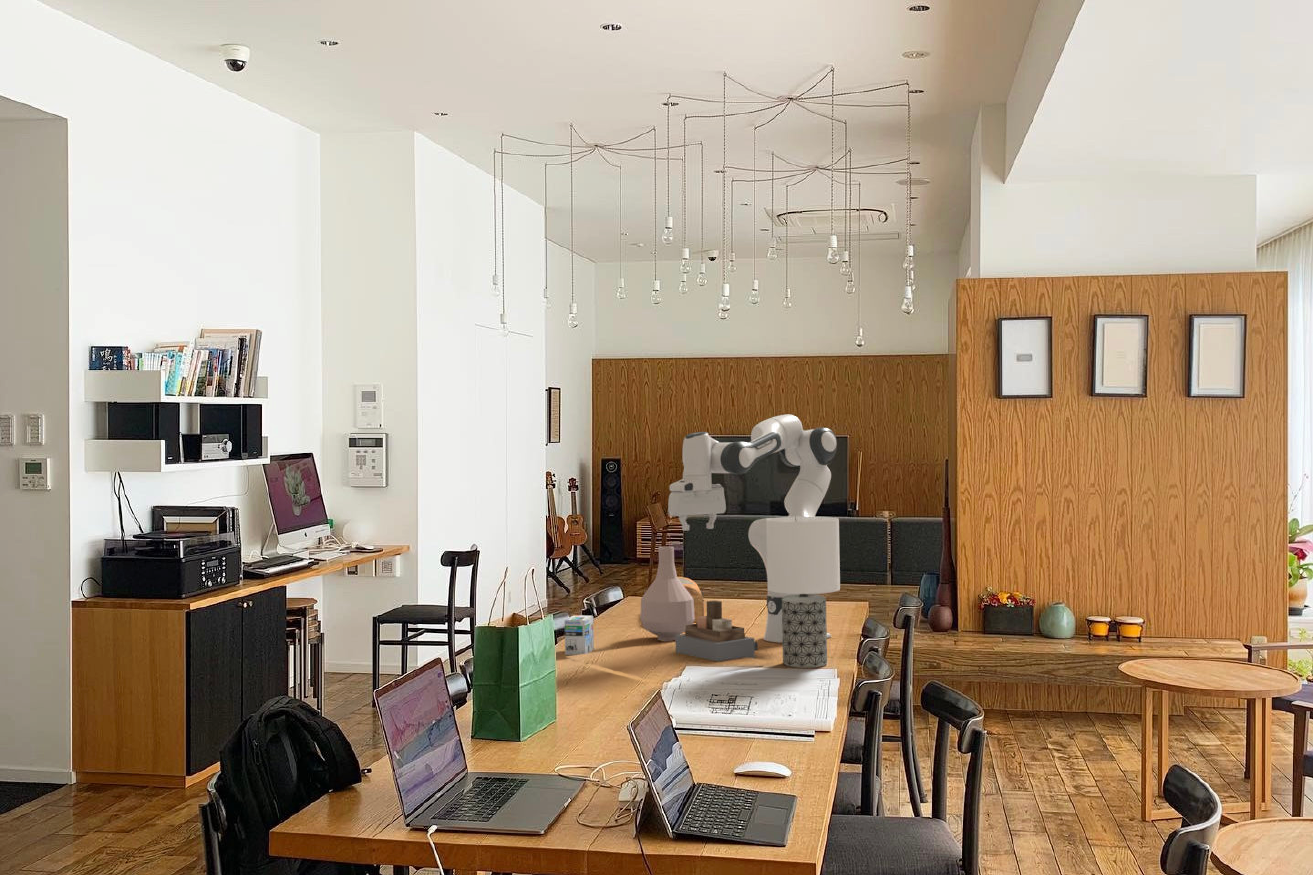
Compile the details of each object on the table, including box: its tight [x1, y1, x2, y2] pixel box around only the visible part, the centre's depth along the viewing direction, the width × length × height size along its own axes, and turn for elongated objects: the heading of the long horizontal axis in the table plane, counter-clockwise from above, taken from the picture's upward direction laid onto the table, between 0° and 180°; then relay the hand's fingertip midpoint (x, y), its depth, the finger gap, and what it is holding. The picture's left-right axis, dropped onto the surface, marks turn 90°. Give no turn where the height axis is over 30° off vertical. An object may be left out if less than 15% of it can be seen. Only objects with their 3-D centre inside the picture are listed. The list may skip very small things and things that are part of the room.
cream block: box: [712, 617, 733, 631], centre depth 347 cm, size 4×4×4 cm
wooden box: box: [677, 576, 705, 624], centre depth 427 cm, size 30×16×14 cm, turn 1°
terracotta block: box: [697, 615, 707, 629], centre depth 353 cm, size 4×4×4 cm
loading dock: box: [675, 633, 759, 663], centre depth 350 cm, size 15×20×6 cm
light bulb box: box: [564, 614, 595, 656], centre depth 362 cm, size 11×7×11 cm, turn 169°
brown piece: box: [684, 600, 746, 642], centre depth 350 cm, size 10×16×10 cm, turn 36°
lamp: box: [766, 516, 841, 669], centre depth 336 cm, size 21×21×42 cm
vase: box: [639, 546, 695, 642], centre depth 382 cm, size 18×18×30 cm
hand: (698, 529), depth 362 cm, fingers open, 8 cm apart
